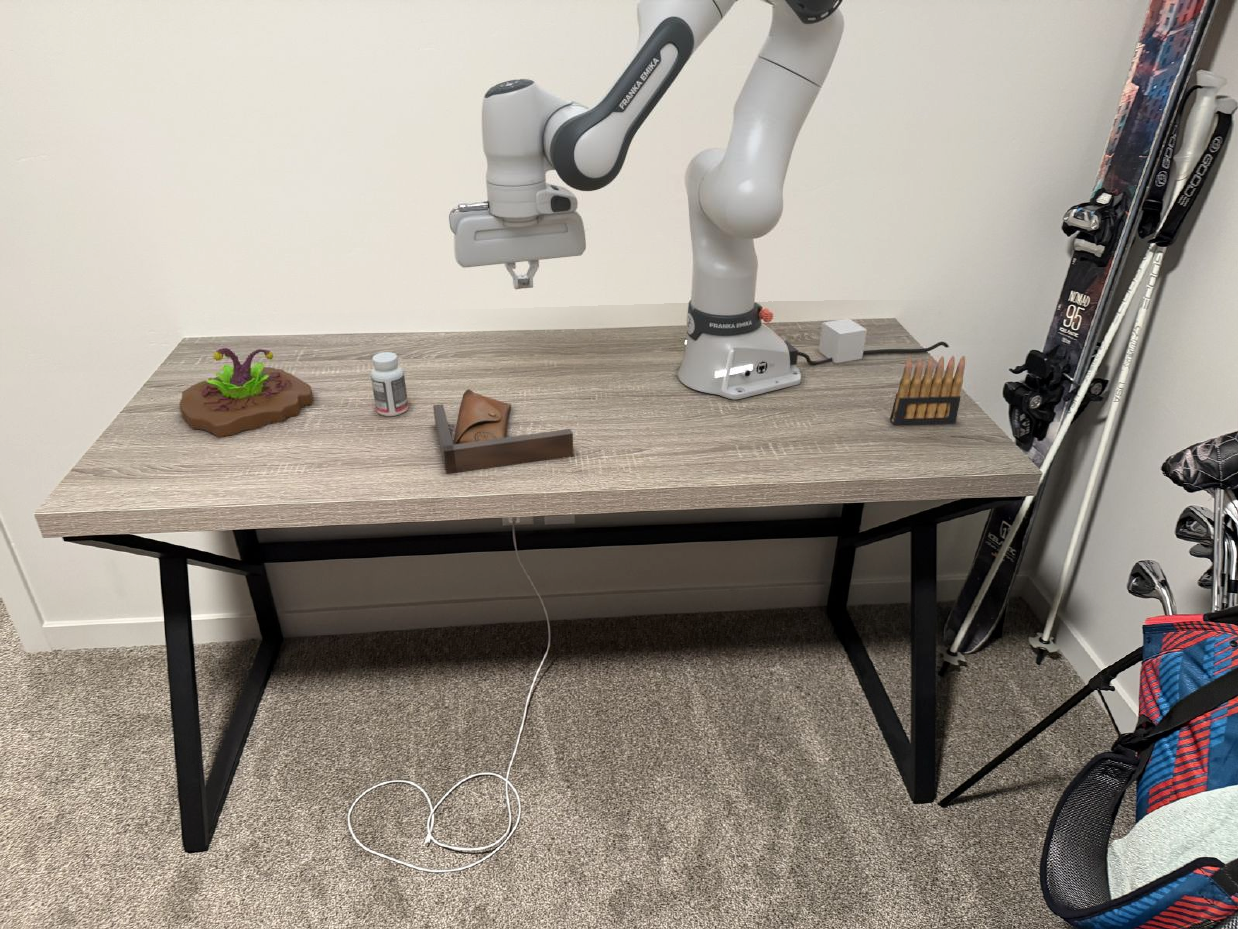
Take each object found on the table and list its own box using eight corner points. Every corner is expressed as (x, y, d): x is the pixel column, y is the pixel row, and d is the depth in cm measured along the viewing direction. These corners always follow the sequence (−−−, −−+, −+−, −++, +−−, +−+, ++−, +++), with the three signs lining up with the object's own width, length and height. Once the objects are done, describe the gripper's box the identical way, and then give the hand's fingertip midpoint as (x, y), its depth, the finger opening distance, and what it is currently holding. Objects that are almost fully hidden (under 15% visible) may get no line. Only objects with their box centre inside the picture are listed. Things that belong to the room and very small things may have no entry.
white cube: (835, 363, 162) (840, 334, 159) (818, 351, 167) (822, 322, 164) (862, 358, 164) (867, 329, 161) (844, 346, 169) (848, 318, 166)
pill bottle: (406, 400, 148) (399, 348, 143) (410, 414, 144) (403, 361, 138) (374, 405, 146) (366, 352, 141) (378, 419, 142) (369, 365, 137)
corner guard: (552, 411, 145) (551, 390, 143) (573, 456, 132) (572, 433, 130) (435, 426, 140) (433, 405, 138) (446, 474, 128) (443, 451, 126)
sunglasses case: (509, 456, 131) (484, 424, 128) (471, 477, 132) (446, 446, 129) (512, 402, 146) (489, 372, 143) (478, 422, 148) (455, 393, 144)
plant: (162, 406, 145) (143, 345, 139) (270, 370, 157) (257, 313, 151) (216, 447, 134) (198, 383, 128) (328, 405, 146) (316, 345, 140)
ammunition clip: (951, 418, 144) (967, 353, 138) (955, 423, 142) (971, 357, 136) (889, 420, 143) (902, 354, 137) (893, 425, 142) (906, 359, 135)
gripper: (450, 210, 122) (460, 301, 130) (587, 198, 127) (589, 286, 135) (444, 199, 128) (454, 287, 135) (576, 188, 133) (579, 274, 140)
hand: (523, 287), depth 135 cm, fingers closed
